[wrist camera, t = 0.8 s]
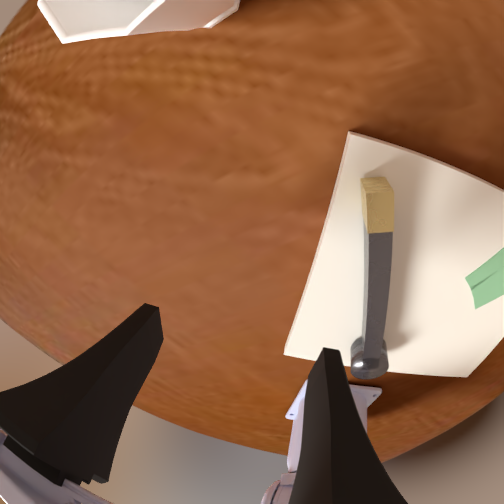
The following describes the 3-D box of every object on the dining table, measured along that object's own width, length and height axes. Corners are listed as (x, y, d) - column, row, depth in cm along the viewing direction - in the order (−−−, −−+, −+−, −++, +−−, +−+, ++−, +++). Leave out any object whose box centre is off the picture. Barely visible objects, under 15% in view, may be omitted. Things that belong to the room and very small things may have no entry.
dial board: (464, 369, 21) (467, 378, 21) (285, 345, 23) (283, 355, 22) (562, 225, 12) (570, 232, 11) (348, 130, 13) (351, 134, 12)
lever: (384, 356, 20) (386, 377, 19) (349, 359, 21) (350, 380, 19) (398, 175, 13) (409, 190, 11) (345, 179, 14) (349, 194, 12)
